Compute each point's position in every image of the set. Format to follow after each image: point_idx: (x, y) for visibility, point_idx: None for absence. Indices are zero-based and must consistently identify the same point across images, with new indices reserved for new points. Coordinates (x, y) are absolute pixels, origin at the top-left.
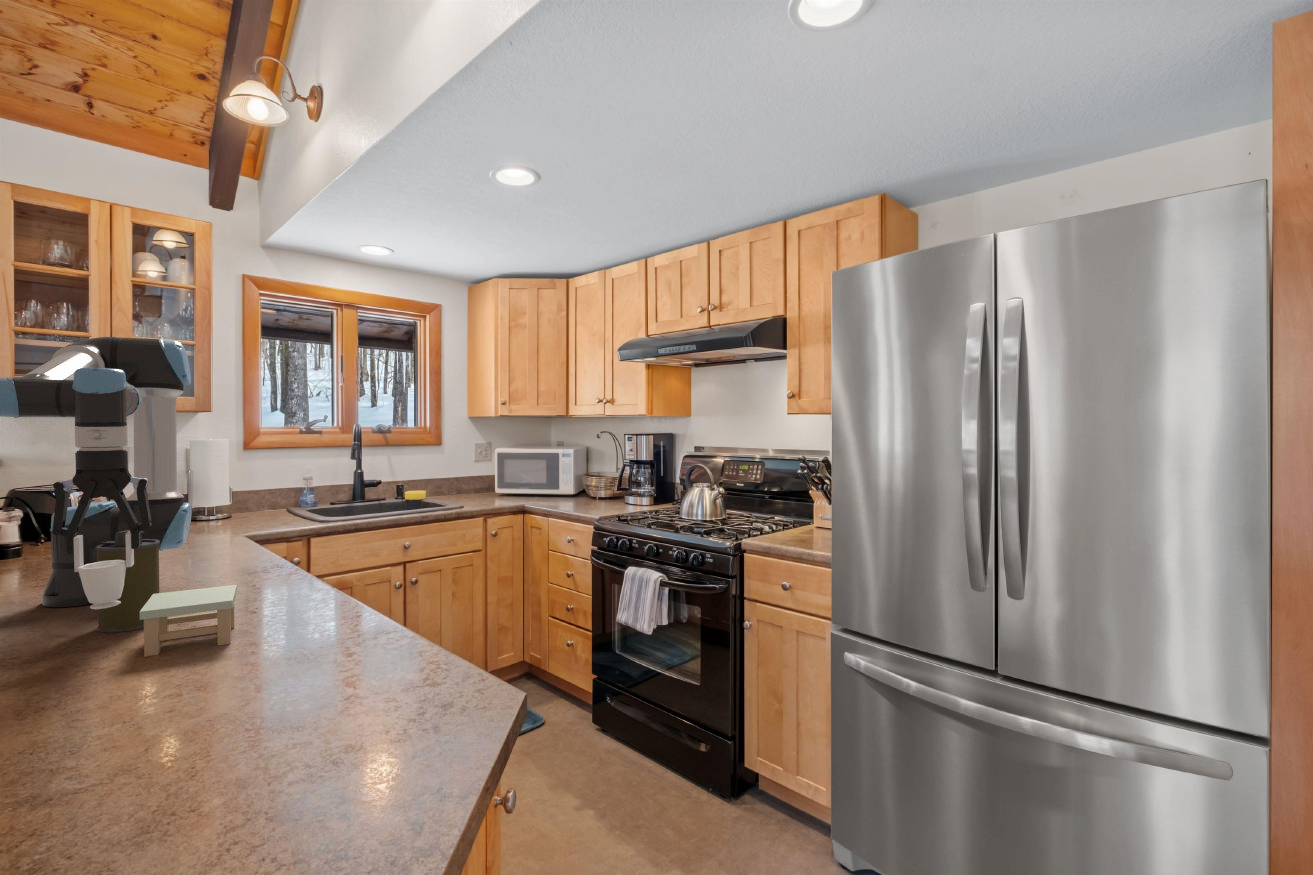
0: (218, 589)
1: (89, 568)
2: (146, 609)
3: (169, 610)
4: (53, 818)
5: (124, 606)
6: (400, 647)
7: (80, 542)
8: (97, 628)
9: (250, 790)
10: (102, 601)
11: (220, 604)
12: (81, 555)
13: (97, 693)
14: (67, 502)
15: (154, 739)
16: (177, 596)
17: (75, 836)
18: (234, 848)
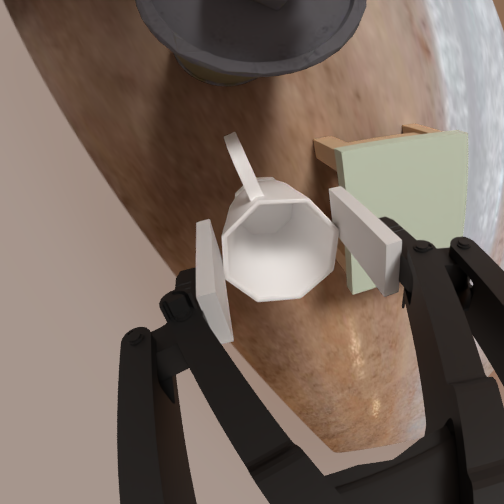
0: (447, 164)
1: (268, 299)
2: (360, 283)
3: None
4: (339, 441)
5: (245, 80)
6: None
7: (226, 307)
8: (177, 60)
9: (402, 424)
10: (270, 234)
11: None
12: (219, 266)
13: (313, 347)
14: (165, 476)
15: (368, 402)
16: (393, 198)
17: (349, 445)
18: (393, 441)
